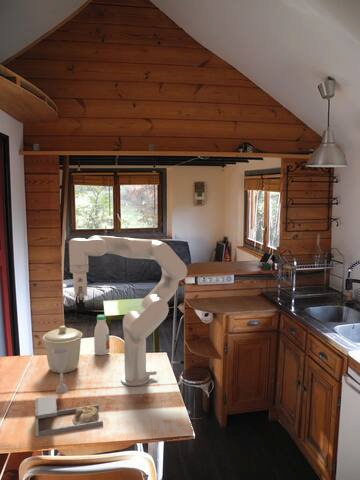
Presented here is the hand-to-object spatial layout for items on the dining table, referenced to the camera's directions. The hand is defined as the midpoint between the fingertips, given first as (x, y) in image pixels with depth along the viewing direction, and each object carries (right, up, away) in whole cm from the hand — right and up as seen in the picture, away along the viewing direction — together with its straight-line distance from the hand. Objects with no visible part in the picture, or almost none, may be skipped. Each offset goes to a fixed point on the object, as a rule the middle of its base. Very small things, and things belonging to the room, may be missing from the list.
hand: (80, 308), depth 182 cm
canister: (-13, -33, +25) cm, 43 cm away
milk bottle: (+1, -30, +44) cm, 54 cm away
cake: (+7, -39, -19) cm, 44 cm away
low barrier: (+1, -39, -21) cm, 44 cm away
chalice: (-9, -36, +4) cm, 37 cm away
